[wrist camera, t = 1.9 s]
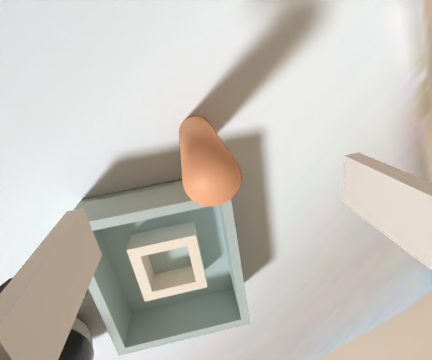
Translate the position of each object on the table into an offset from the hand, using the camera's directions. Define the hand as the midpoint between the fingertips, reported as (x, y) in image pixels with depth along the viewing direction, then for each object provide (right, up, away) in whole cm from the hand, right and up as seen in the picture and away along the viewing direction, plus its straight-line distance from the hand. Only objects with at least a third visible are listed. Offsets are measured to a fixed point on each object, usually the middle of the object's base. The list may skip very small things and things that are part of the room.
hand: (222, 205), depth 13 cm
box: (-6, -7, +21) cm, 23 cm away
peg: (-3, +6, +16) cm, 17 cm away
